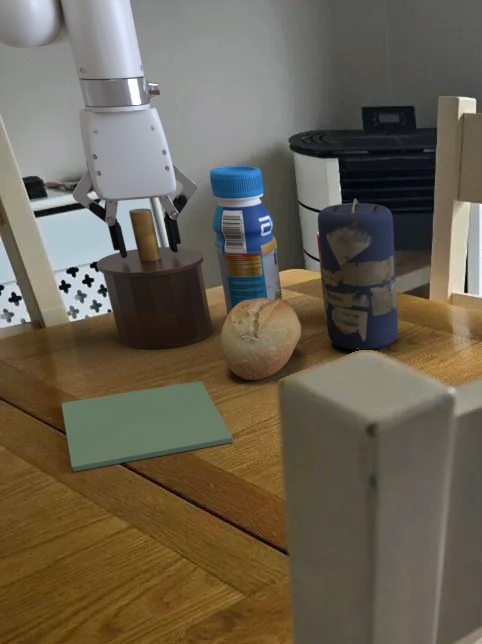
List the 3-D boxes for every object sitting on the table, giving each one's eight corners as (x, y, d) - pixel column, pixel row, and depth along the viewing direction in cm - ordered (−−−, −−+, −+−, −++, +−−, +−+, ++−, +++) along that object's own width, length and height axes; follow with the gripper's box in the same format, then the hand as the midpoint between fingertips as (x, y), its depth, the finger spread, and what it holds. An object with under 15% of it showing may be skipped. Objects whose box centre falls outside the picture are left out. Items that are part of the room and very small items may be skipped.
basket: (125, 354, 110) (107, 280, 104) (115, 327, 119) (98, 258, 114) (219, 340, 114) (207, 269, 109) (203, 315, 124) (190, 248, 118)
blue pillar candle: (318, 352, 110) (302, 205, 99) (342, 330, 117) (330, 190, 107) (387, 357, 108) (378, 207, 97) (407, 334, 115) (401, 193, 105)
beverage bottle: (217, 320, 121) (190, 169, 110) (267, 309, 126) (247, 162, 114) (246, 334, 116) (221, 176, 104) (297, 321, 121) (279, 169, 109)
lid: (104, 287, 104) (88, 225, 100) (94, 262, 114) (80, 206, 110) (213, 274, 109) (202, 215, 104) (194, 251, 119) (184, 197, 115)
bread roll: (311, 343, 113) (304, 283, 108) (295, 384, 101) (286, 318, 96) (241, 344, 113) (231, 284, 108) (216, 385, 101) (204, 319, 96)
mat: (73, 472, 82) (71, 466, 82) (62, 407, 96) (61, 402, 95) (233, 442, 87) (232, 437, 87) (202, 385, 101) (201, 380, 100)
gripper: (182, 90, 105) (208, 240, 116) (38, 96, 100) (78, 254, 110) (193, 94, 100) (219, 252, 110) (40, 101, 94) (83, 266, 105)
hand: (148, 251), depth 110 cm, fingers open, 5 cm apart
